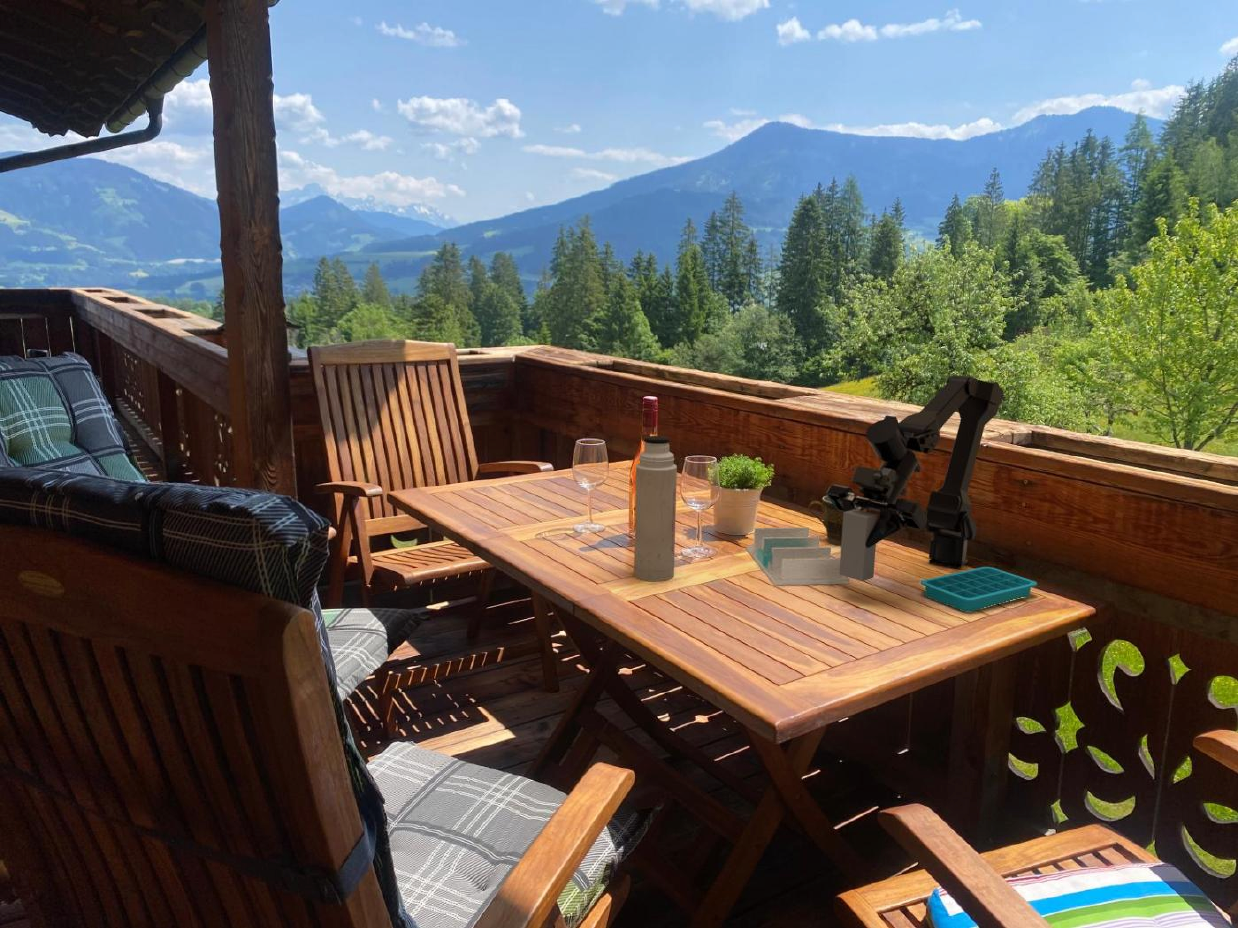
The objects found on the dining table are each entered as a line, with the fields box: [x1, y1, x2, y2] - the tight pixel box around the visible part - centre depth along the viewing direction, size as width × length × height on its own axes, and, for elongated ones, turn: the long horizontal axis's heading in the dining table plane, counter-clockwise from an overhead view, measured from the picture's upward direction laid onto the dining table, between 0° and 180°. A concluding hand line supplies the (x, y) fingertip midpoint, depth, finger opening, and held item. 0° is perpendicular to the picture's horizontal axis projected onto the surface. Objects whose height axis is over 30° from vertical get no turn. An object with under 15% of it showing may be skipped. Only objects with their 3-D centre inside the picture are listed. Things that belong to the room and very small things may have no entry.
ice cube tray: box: [919, 566, 1038, 612], centre depth 162 cm, size 12×20×3 cm, turn 119°
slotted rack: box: [746, 526, 851, 586], centre depth 178 cm, size 15×23×5 cm, turn 5°
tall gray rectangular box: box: [839, 509, 879, 582], centre depth 157 cm, size 4×5×12 cm
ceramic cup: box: [808, 495, 867, 547], centre depth 195 cm, size 13×10×10 cm
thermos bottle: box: [633, 435, 678, 582], centre depth 168 cm, size 8×8×28 cm
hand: (854, 543), depth 156 cm, fingers closed on tall gray rectangular box, 5 cm apart
